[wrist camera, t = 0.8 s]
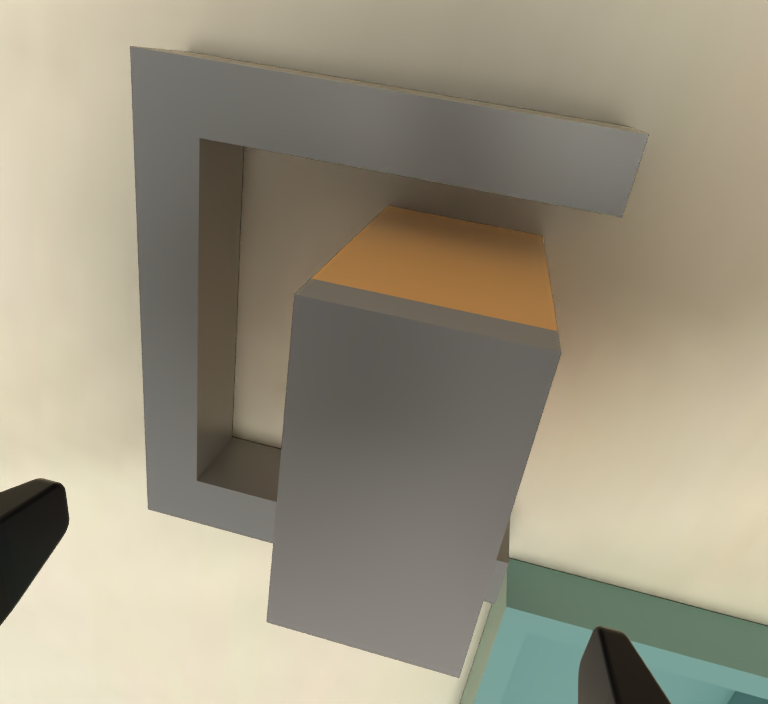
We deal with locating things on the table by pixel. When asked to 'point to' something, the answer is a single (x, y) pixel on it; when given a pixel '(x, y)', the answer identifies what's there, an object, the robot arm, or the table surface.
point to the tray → (616, 611)
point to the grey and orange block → (408, 432)
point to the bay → (223, 220)
